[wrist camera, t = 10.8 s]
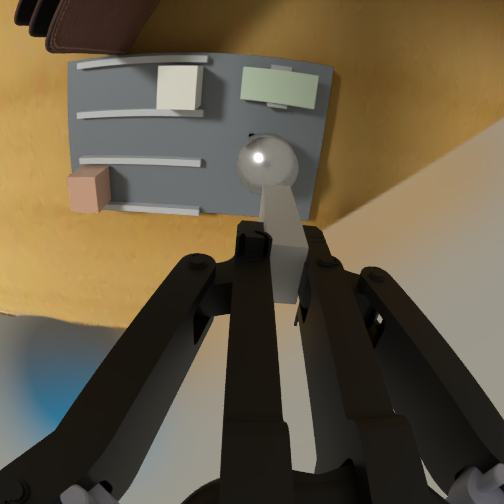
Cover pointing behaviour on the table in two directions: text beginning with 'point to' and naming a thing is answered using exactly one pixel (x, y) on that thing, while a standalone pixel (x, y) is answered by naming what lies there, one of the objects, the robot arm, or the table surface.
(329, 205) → the table surface
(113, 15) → the letter holder
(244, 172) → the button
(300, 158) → the panel
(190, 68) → the slider ivory
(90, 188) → the slider terracotta
